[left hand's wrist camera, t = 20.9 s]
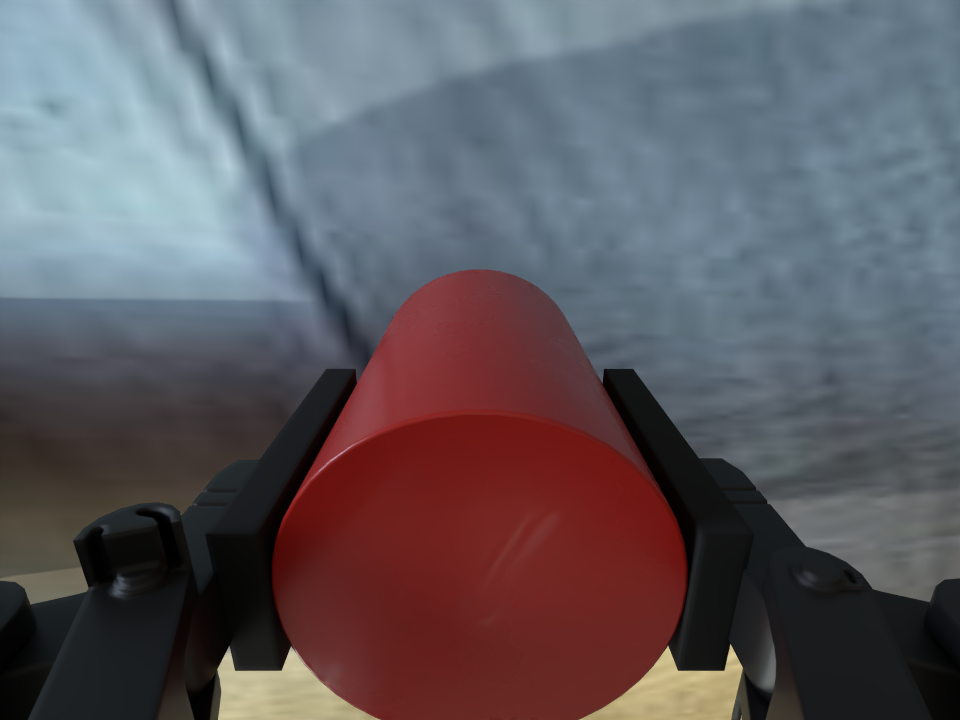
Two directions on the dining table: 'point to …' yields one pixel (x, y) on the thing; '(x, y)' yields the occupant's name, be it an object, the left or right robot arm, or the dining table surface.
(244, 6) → the dining table surface
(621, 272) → the dining table surface
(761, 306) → the dining table surface
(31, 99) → the dining table surface
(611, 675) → the can
